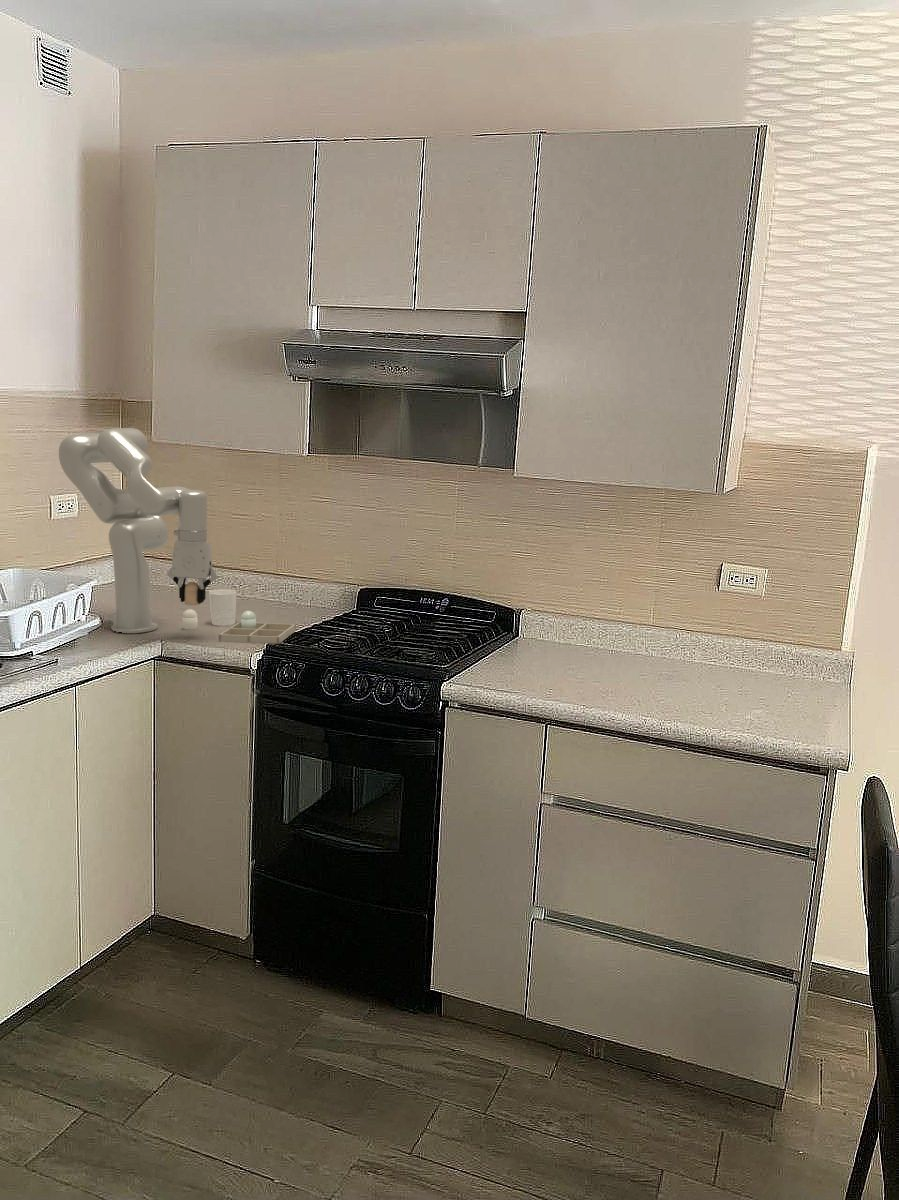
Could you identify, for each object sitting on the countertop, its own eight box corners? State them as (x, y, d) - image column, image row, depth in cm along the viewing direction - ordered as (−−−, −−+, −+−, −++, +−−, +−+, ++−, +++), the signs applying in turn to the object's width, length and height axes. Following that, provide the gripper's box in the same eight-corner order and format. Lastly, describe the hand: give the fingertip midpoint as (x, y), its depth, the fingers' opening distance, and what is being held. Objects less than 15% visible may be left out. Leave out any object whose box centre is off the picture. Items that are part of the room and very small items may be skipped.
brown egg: (182, 604, 288) (182, 582, 287) (187, 601, 292) (187, 579, 291) (196, 605, 288) (197, 583, 286) (202, 602, 292) (202, 581, 290)
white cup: (222, 629, 304) (221, 595, 302) (204, 625, 309) (202, 592, 307) (242, 625, 310) (241, 591, 308) (224, 621, 315) (223, 588, 313)
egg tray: (219, 643, 287) (218, 634, 286) (239, 630, 303) (238, 621, 303) (279, 645, 285) (278, 637, 284) (295, 632, 301) (295, 624, 301)
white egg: (180, 631, 301) (179, 610, 300) (186, 628, 305) (185, 607, 304) (194, 632, 300) (194, 611, 299) (200, 628, 304) (199, 608, 303)
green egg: (239, 633, 297) (238, 612, 295) (244, 630, 301) (243, 609, 300) (253, 633, 296) (253, 612, 295) (258, 630, 300) (257, 609, 299)
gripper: (157, 535, 283) (157, 602, 287) (217, 540, 281) (217, 607, 285) (168, 531, 290) (168, 596, 294) (227, 536, 289) (226, 601, 292)
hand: (192, 601), depth 290 cm, fingers closed on brown egg, 4 cm apart
